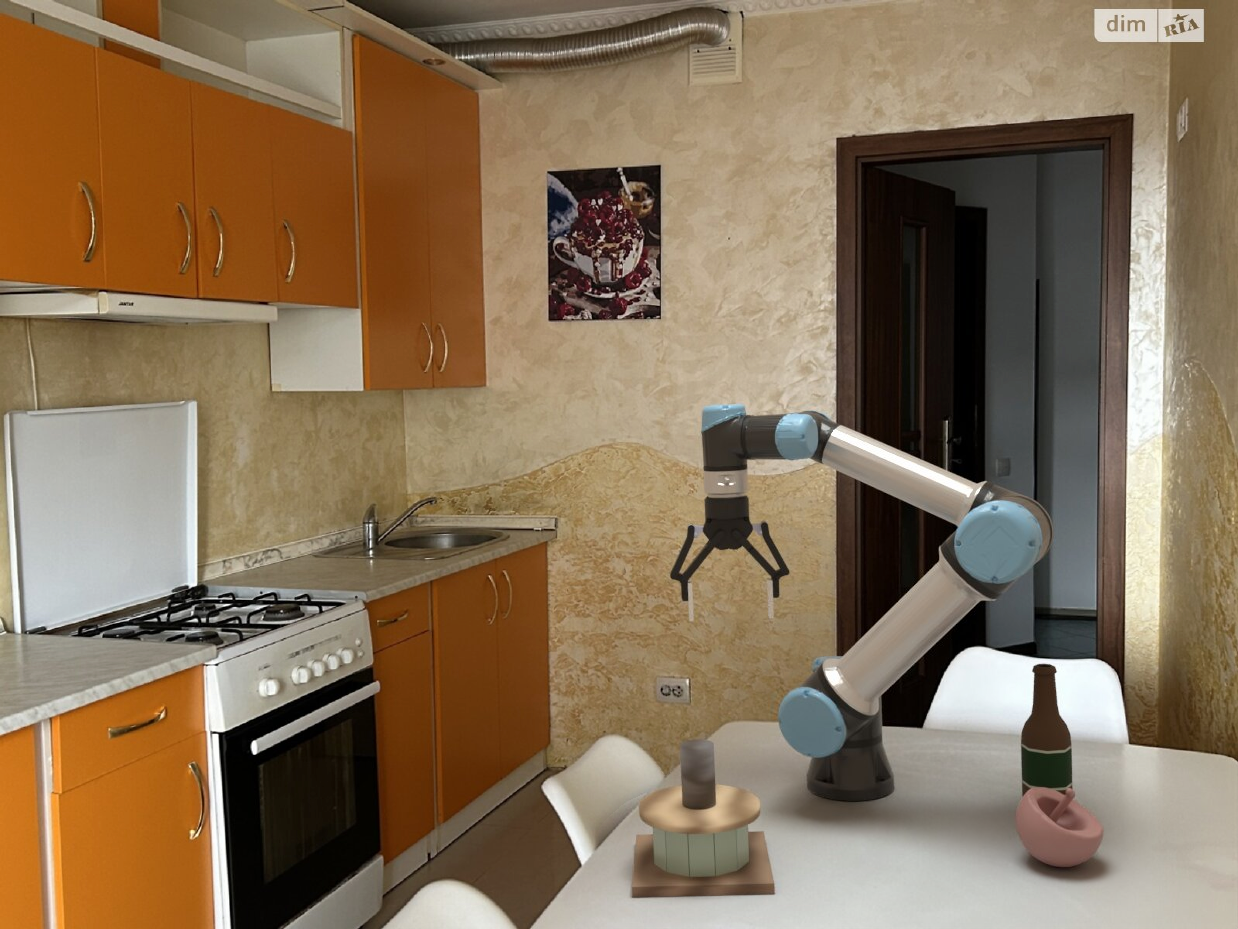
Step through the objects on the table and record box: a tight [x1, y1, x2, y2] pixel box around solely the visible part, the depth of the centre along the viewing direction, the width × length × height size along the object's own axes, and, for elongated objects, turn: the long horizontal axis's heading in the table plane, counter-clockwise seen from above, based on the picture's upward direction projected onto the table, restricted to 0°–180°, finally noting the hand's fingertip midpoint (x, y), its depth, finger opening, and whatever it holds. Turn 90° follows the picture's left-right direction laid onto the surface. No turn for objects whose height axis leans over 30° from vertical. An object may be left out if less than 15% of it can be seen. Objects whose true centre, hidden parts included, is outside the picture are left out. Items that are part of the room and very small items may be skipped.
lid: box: [638, 738, 761, 834], centre depth 179 cm, size 18×18×10 cm
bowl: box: [652, 824, 749, 877], centre depth 179 cm, size 14×14×7 cm
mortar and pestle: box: [1015, 787, 1105, 868], centre depth 175 cm, size 12×12×12 cm
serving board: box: [631, 830, 776, 898], centre depth 180 cm, size 20×20×2 cm
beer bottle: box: [1020, 663, 1074, 798], centre depth 196 cm, size 8×8×24 cm
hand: (731, 618), depth 206 cm, fingers open, 13 cm apart
